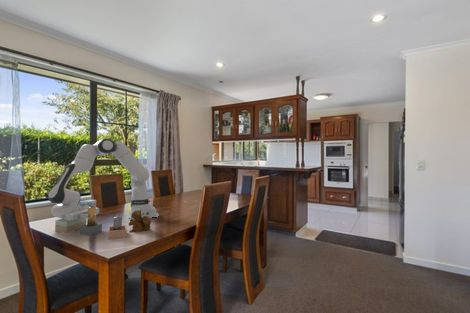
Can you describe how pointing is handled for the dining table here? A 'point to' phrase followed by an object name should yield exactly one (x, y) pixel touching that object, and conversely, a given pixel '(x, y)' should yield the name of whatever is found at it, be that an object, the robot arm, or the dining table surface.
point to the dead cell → (117, 223)
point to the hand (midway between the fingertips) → (92, 214)
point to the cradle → (90, 229)
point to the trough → (69, 224)
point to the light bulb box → (88, 203)
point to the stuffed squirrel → (139, 222)
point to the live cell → (91, 216)
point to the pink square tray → (117, 232)
